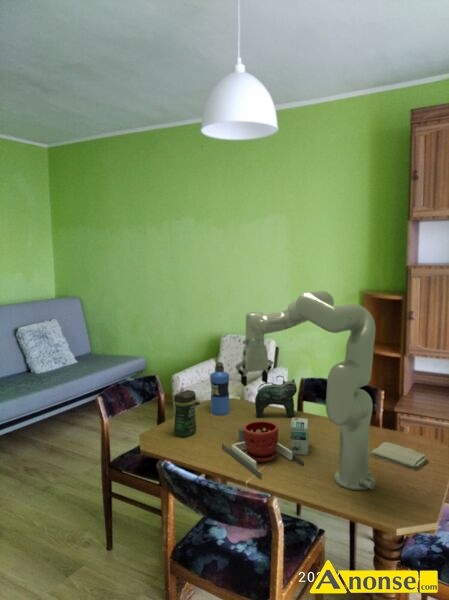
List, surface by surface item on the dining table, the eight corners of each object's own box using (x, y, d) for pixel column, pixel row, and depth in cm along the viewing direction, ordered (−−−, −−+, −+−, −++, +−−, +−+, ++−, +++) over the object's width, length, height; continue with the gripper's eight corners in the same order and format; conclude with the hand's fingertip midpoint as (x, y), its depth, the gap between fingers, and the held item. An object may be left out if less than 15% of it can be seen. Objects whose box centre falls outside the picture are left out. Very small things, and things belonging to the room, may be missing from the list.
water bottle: (221, 407, 222) (220, 359, 220) (233, 412, 215) (233, 362, 213) (206, 412, 216) (206, 362, 214) (218, 417, 209) (218, 365, 207)
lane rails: (303, 465, 160) (303, 461, 160) (260, 478, 151) (260, 474, 151) (261, 438, 184) (261, 434, 184) (221, 448, 175) (221, 444, 175)
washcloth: (416, 473, 155) (416, 464, 154) (368, 457, 167) (368, 449, 167) (429, 461, 163) (429, 453, 163) (383, 447, 176) (383, 439, 175)
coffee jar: (186, 439, 185) (185, 396, 183) (171, 435, 189) (170, 393, 187) (199, 431, 193) (198, 390, 191) (185, 427, 197) (184, 387, 195)
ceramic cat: (296, 414, 212) (296, 373, 210) (298, 419, 205) (298, 377, 203) (254, 414, 212) (254, 374, 210) (255, 419, 206) (255, 377, 204)
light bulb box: (308, 455, 168) (308, 428, 167) (290, 454, 170) (290, 427, 168) (308, 443, 179) (308, 418, 178) (291, 442, 180) (291, 417, 179)
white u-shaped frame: (292, 459, 164) (292, 444, 164) (254, 470, 156) (254, 454, 156) (259, 438, 184) (259, 424, 183) (223, 446, 176) (223, 432, 175)
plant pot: (280, 451, 172) (280, 421, 171) (275, 466, 160) (275, 434, 158) (248, 447, 176) (247, 418, 175) (240, 462, 163) (240, 431, 162)
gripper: (240, 346, 171) (240, 389, 173) (277, 342, 179) (277, 383, 181) (231, 342, 177) (231, 383, 179) (267, 338, 185) (267, 378, 187)
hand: (254, 383), depth 180 cm, fingers open, 9 cm apart
